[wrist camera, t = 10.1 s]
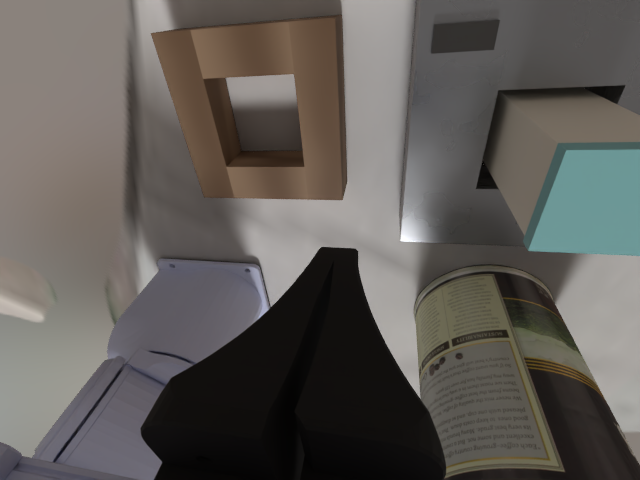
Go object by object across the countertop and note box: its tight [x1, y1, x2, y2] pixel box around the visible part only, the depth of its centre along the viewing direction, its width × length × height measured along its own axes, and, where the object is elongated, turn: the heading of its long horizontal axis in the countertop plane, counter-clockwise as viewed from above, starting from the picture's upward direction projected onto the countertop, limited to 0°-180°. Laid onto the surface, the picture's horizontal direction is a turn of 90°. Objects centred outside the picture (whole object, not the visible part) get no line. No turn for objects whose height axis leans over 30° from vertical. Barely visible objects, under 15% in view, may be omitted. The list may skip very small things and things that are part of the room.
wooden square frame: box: [151, 15, 347, 200], centre depth 19 cm, size 9×9×2 cm
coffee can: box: [414, 265, 640, 480], centre depth 21 cm, size 10×10×14 cm
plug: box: [483, 87, 640, 256], centre depth 14 cm, size 4×4×9 cm
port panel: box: [399, 0, 640, 247], centre depth 16 cm, size 12×12×3 cm
